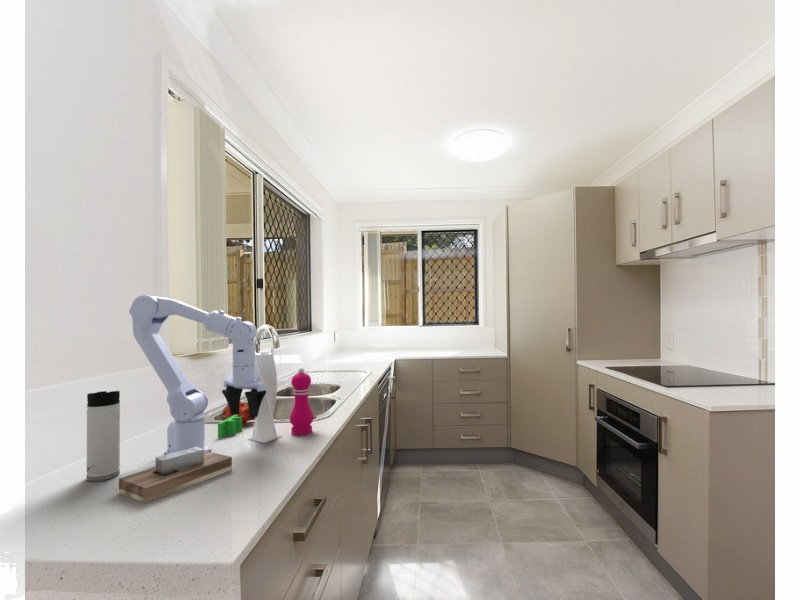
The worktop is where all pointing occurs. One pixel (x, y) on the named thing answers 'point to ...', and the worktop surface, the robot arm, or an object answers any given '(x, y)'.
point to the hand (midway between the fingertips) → (244, 415)
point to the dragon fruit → (242, 413)
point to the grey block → (179, 460)
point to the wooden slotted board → (172, 478)
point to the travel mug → (103, 435)
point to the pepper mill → (301, 405)
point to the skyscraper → (265, 397)
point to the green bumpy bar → (230, 426)
